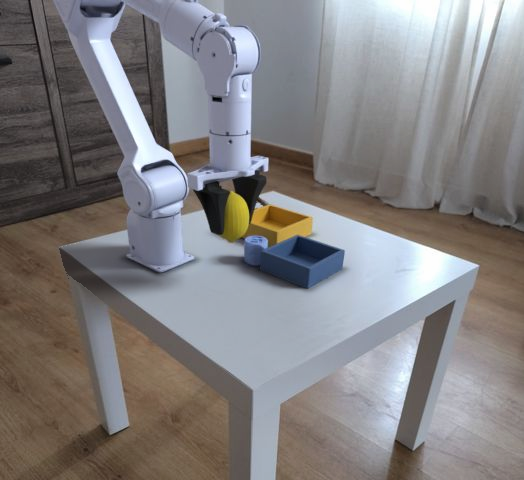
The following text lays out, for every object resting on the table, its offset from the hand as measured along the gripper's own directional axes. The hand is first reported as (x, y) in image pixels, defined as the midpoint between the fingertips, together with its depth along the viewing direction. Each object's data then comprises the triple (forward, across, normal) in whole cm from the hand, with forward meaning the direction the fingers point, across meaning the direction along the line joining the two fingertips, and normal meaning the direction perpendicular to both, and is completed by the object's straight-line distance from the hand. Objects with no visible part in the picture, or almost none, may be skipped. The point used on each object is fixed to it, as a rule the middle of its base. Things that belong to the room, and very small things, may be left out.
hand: (230, 227), depth 74 cm
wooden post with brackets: (+10, +28, +17) cm, 34 cm away
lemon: (+3, 0, 0) cm, 3 cm away
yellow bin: (+9, +21, +9) cm, 25 cm away
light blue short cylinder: (+10, +9, +3) cm, 14 cm away
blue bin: (+9, +12, -5) cm, 16 cm away
